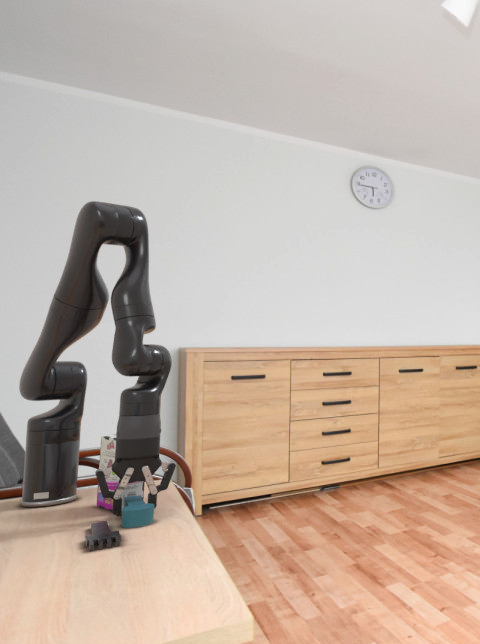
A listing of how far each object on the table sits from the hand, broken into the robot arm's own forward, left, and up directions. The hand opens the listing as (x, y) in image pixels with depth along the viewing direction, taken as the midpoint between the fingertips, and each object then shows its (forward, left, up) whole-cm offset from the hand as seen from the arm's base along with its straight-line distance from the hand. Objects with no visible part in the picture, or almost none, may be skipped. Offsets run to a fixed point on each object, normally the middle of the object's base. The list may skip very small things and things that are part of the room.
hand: (134, 513), depth 122 cm
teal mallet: (+3, 0, -1) cm, 3 cm away
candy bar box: (-11, -2, -1) cm, 11 cm away
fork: (+13, -6, -1) cm, 14 cm away
